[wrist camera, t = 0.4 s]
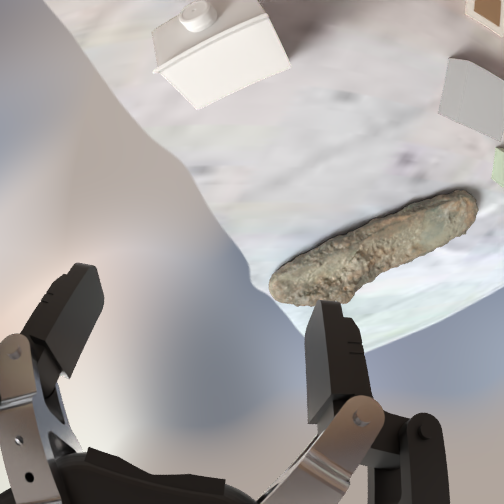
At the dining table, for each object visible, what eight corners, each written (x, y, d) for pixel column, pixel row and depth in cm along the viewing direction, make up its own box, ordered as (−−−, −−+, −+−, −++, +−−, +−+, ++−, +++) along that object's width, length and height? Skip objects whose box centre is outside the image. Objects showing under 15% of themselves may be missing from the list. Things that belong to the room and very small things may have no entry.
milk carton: (284, 65, 29) (296, 69, 14) (227, 89, 31) (181, 122, 16) (256, 13, 26) (238, -35, 10) (199, 40, 28) (125, 27, 12)
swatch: (467, -26, 17) (469, -26, 16) (504, -1, 17) (507, -1, 16) (464, 14, 21) (467, 14, 20) (501, 37, 21) (504, 37, 20)
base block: (447, 57, 25) (469, 60, 21) (491, 80, 25) (513, 86, 21) (437, 113, 30) (456, 122, 26) (480, 130, 30) (500, 142, 26)
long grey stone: (469, 221, 40) (459, 167, 36) (486, 237, 36) (478, 180, 31) (286, 308, 51) (256, 265, 46) (287, 330, 46) (255, 287, 42)
